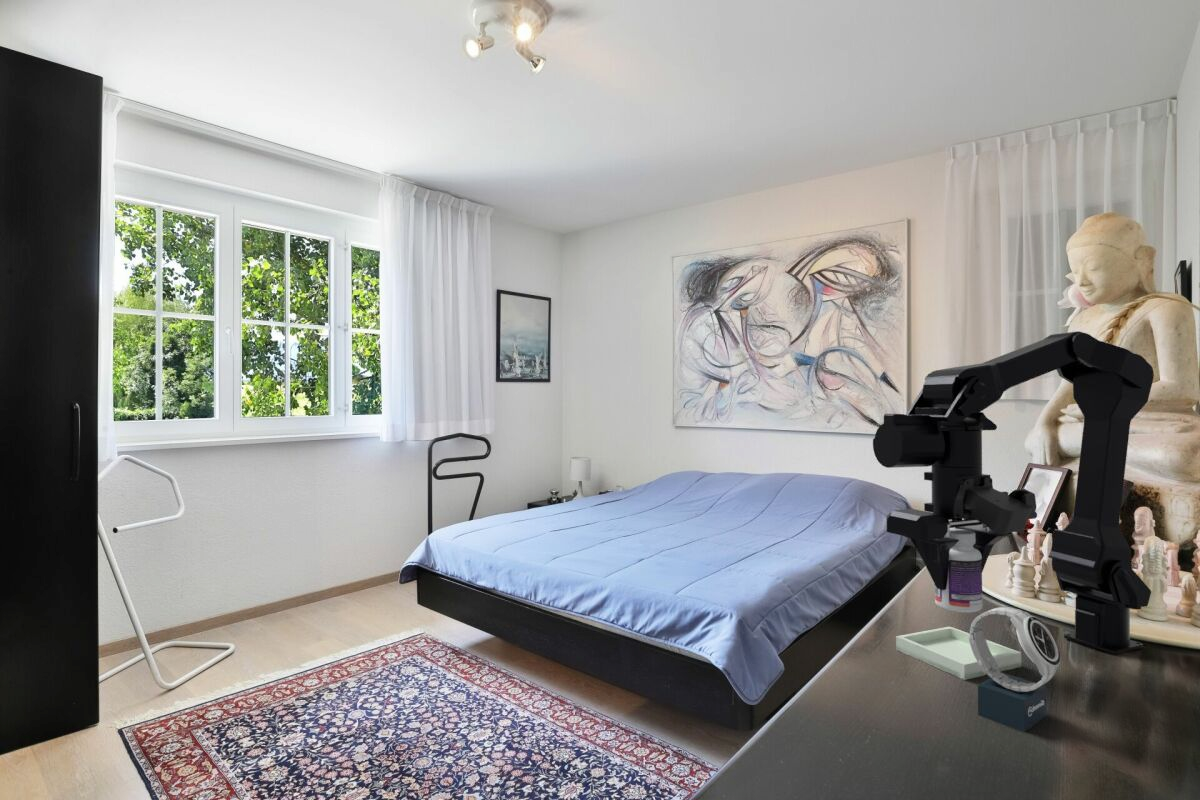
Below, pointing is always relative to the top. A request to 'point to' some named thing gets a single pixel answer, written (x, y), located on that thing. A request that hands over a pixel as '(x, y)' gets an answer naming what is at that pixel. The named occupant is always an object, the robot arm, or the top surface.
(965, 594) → the pill bottle
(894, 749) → the top surface
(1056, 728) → the top surface
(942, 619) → the top surface
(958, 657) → the tray
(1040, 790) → the top surface
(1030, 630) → the watch
